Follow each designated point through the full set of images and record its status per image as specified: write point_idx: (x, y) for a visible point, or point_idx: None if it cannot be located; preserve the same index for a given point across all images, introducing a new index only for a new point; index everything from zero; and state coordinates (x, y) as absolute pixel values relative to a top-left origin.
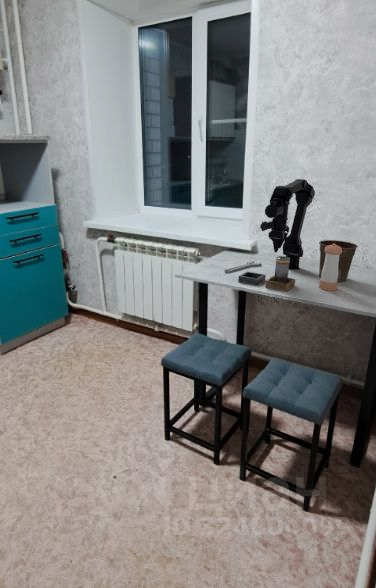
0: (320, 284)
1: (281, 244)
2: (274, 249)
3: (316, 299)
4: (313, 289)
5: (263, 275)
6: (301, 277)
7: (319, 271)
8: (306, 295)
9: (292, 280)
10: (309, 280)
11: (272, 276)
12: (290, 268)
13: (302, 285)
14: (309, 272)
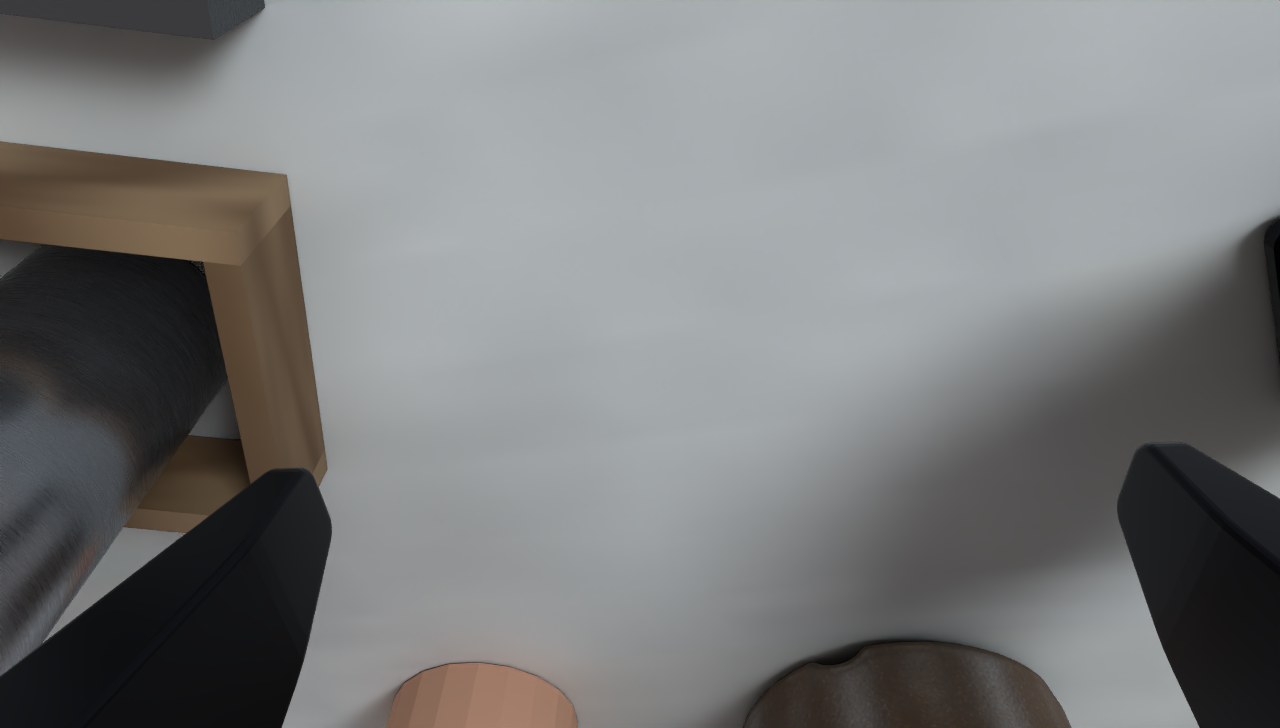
0: (407, 716)
1: (1193, 675)
2: (185, 558)
3: None
4: (341, 632)
5: (117, 7)
6: (782, 484)
7: (887, 708)
8: (78, 603)
9: (182, 524)
10: (682, 571)
11: (121, 227)
12: (1273, 285)
13: (408, 535)
14: (1104, 533)
